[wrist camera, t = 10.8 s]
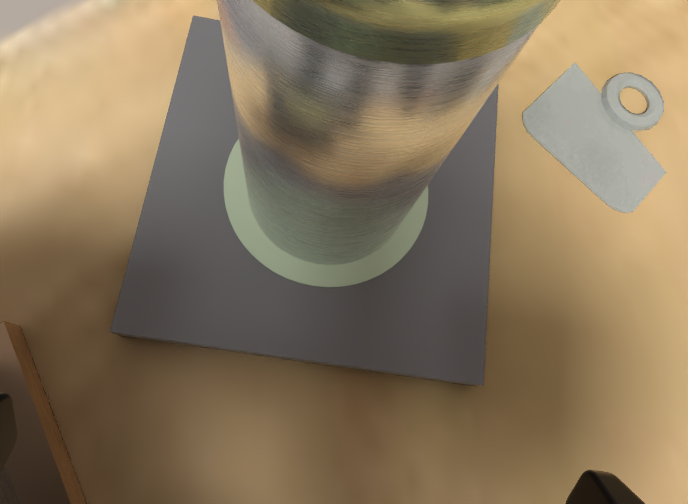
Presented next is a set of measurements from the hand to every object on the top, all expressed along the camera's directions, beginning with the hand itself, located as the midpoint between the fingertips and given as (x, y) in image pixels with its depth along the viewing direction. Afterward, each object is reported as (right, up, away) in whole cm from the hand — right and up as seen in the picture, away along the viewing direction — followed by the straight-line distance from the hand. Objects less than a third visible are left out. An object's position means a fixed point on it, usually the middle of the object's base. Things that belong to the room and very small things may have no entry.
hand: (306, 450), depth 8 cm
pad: (0, +5, +11) cm, 12 cm away
